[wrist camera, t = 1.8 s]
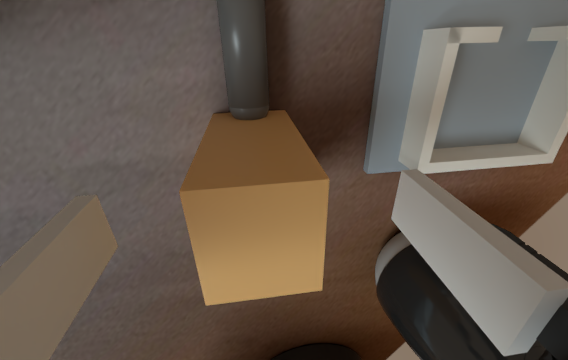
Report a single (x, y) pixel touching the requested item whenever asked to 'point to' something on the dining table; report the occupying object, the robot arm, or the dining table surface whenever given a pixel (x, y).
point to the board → (469, 85)
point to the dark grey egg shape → (431, 309)
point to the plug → (254, 182)
